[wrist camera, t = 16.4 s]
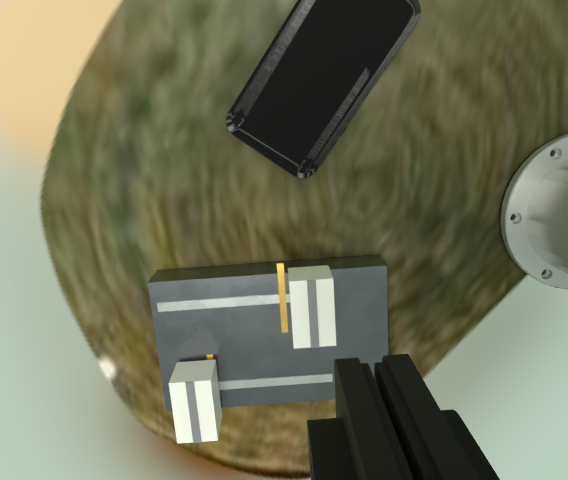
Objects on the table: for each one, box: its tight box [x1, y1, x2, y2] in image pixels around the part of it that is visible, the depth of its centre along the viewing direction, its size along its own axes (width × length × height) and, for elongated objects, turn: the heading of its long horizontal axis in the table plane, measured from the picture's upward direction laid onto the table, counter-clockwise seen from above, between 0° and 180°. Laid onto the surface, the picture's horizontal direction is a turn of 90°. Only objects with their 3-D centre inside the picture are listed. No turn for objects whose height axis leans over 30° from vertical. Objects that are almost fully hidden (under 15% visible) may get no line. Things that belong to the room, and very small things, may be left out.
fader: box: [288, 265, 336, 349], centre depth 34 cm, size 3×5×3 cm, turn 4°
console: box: [148, 255, 388, 411], centre depth 38 cm, size 18×13×3 cm
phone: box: [226, 0, 421, 178], centre depth 34 cm, size 8×1×15 cm
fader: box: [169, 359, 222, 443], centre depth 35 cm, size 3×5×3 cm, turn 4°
